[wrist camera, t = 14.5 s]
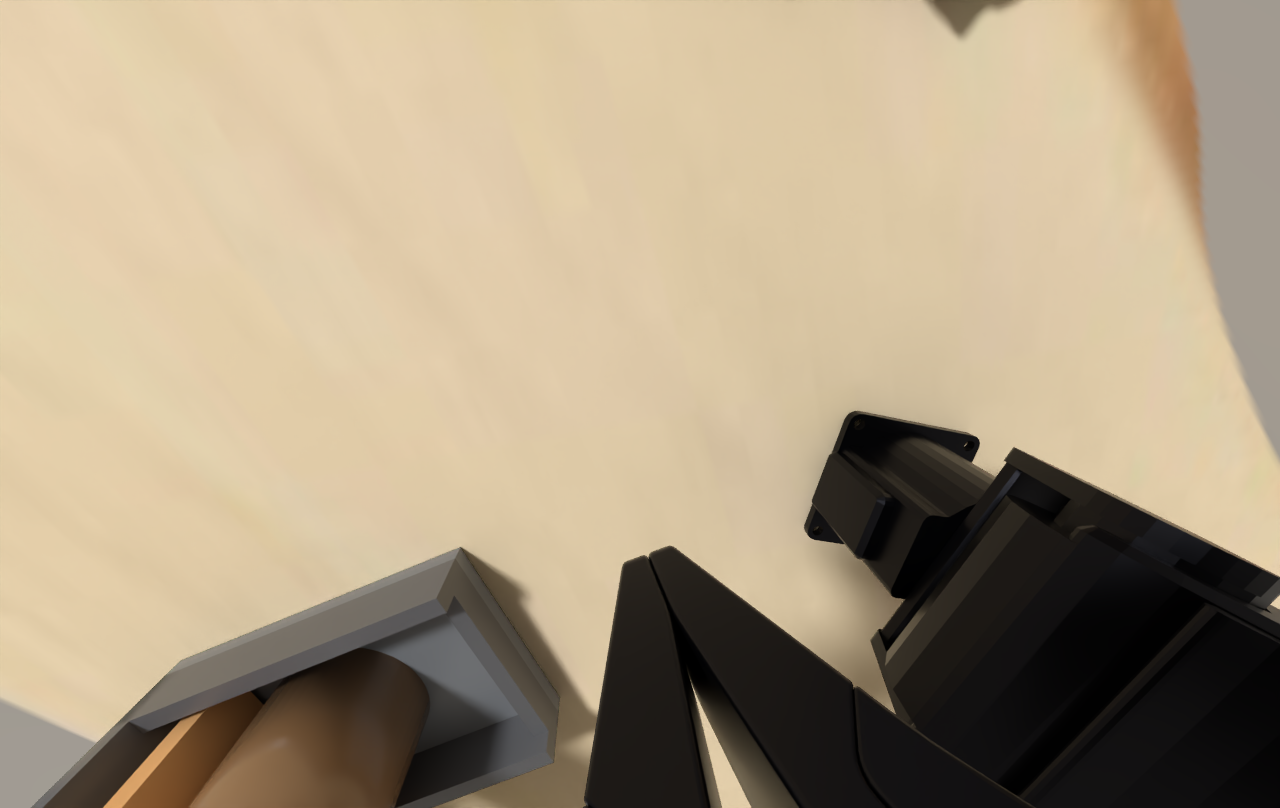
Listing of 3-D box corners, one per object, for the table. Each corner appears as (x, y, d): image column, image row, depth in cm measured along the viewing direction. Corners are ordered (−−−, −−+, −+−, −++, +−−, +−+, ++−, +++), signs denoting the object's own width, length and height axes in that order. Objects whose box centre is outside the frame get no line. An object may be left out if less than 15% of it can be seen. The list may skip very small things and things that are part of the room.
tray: (460, 547, 22) (399, 675, 15) (559, 697, 25) (545, 854, 19) (180, 660, 22) (10, 827, 16) (314, 791, 26) (218, 971, 19)
